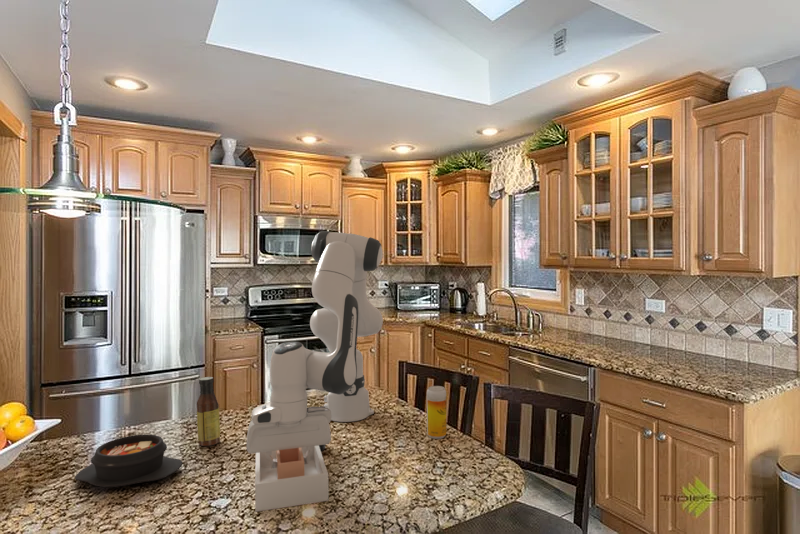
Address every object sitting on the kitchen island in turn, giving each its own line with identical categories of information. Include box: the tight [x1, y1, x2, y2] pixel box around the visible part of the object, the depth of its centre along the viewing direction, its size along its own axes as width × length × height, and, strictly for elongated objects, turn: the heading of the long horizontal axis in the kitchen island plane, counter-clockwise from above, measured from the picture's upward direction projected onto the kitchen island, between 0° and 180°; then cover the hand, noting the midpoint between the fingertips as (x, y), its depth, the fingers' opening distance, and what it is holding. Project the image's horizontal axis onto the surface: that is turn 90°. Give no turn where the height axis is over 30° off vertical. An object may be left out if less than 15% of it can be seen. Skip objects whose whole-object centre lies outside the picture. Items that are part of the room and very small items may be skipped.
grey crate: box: [254, 445, 330, 512], centre depth 116 cm, size 22×16×6 cm
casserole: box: [74, 434, 183, 488], centre depth 121 cm, size 25×19×8 cm
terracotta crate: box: [276, 448, 304, 479], centre depth 116 cm, size 13×6×6 cm, turn 16°
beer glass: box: [426, 385, 448, 440], centre depth 147 cm, size 6×6×15 cm
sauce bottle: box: [196, 376, 221, 447], centre depth 143 cm, size 7×6×20 cm
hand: (289, 465), depth 116 cm, fingers open, 6 cm apart
